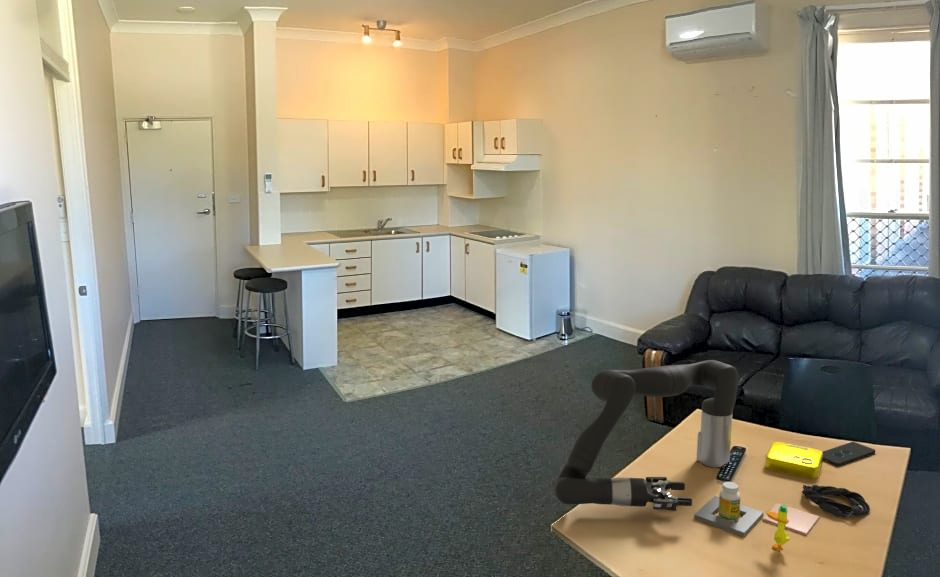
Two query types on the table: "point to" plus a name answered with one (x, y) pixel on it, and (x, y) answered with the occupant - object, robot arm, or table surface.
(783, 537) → the toy figure
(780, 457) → the element tile
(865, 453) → the smart home device
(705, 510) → the socket block
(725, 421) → the robot arm
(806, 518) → the terracotta tile
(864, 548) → the table surface
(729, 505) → the supplement bottle
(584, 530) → the table surface
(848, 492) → the cable
